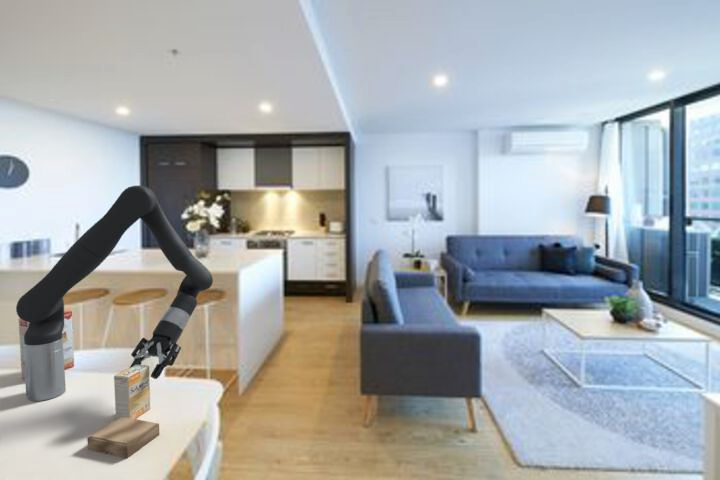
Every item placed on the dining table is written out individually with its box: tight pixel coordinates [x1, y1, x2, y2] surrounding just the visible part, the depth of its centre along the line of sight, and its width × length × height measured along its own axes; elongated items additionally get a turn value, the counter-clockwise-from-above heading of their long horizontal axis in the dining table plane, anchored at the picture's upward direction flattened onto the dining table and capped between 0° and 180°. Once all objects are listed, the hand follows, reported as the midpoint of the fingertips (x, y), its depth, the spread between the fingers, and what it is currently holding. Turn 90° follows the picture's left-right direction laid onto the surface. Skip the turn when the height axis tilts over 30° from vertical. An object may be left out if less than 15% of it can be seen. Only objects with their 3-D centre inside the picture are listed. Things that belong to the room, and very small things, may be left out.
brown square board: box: [86, 417, 160, 459], centre depth 102 cm, size 12×10×3 cm
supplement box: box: [113, 364, 151, 420], centre depth 114 cm, size 8×5×13 cm, turn 168°
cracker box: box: [18, 309, 75, 380], centre depth 141 cm, size 14×6×21 cm, turn 158°
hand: (142, 375), depth 117 cm, fingers open, 8 cm apart
